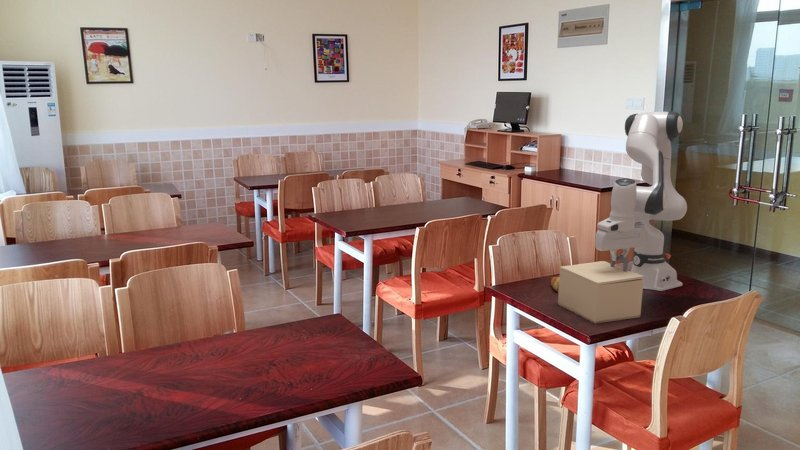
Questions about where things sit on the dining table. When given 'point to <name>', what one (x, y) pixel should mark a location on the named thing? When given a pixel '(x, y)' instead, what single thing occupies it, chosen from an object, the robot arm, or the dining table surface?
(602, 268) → the flap
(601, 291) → the carton
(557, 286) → the croissant
